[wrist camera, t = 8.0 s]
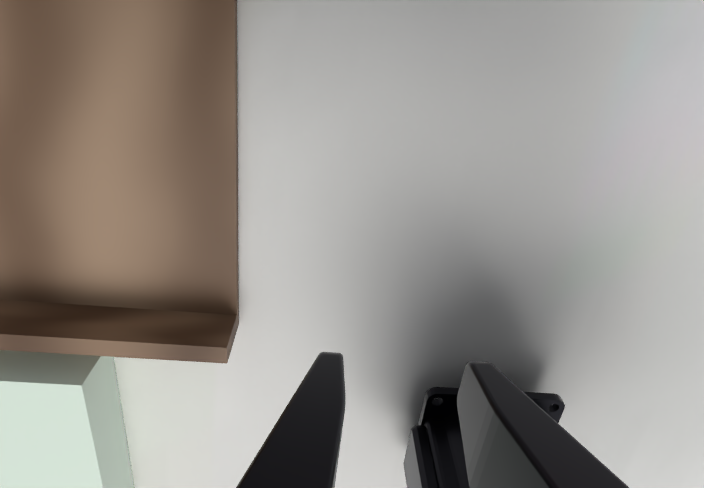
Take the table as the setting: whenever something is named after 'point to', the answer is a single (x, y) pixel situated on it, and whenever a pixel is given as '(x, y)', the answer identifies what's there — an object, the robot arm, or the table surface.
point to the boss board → (119, 178)
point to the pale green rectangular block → (61, 422)
